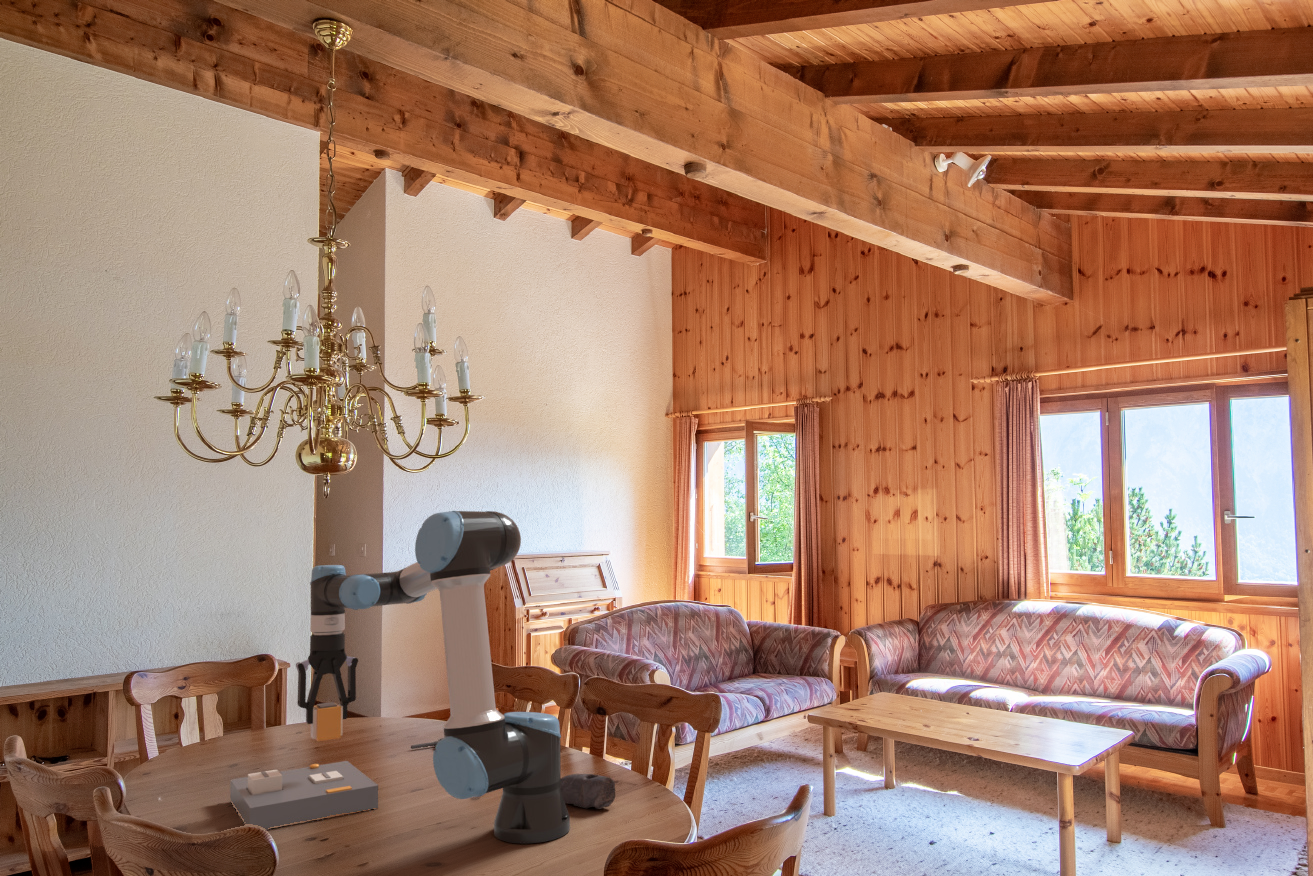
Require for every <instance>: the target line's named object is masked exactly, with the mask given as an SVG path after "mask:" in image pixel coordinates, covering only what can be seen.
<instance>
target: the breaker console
mask: <svg viewBox="0 0 1313 876" xmlns="http://www.w3.org/2000/svg"><path fill="white" fill-rule="evenodd" d="M332 771H337V772H339V773H340V774H341V775H342V776H343V780H337V781H331V782H325V783H320V784H313V783H312V782H311V781H310V780H309V775H314V774H320V773H324V772H332ZM279 772H280V774H281V775H282V790H279V791H273V792H267V793H261V794H255V795H251V794H250V793H249V792H248V776H245V777H238V778H233V779H230V784H229V785H230V786H229V787H230V791H229V793H230V794H229V796H230V798H229V800H230V799H231V801H232V802H233V804H234V805H235V807H236V808H237V810H238V811H239V813H240V814H241V816H242V818H243V819H244V822H246V823H245V824H253V825H258V826H261V827H263V828H265V829H267V830H266V831H269V829H268V828H270V827H274V826H280V825H284V824H290V823H294V822H300V821H307V820H312V819H317V818H322V817H327V816H330V815H336V814H342V813H350V812H357V811H363V810H368V809H373V808H378V809H379V785H378V784H377V783H376V782H374V781H373V780H372V779H371V778H369V777H368V776H367V775H366V774H365V773H363V772H362V771H361V770H359V769H358V768H357V767H356V766H354V765H353V764H352V763H351V762H350V761H348V760H343V761H338V762H337V761H335V762H332V763H326V764H319V763H313V764H310V765H309V766H307V767H301V768H293V769H288V770H282V771H279Z"/></svg>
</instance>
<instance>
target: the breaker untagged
mask: <svg viewBox="0 0 1313 876" xmlns="http://www.w3.org/2000/svg"><path fill="white" fill-rule="evenodd" d="M247 777H248V792H249V793H250V794H251V795H255V794H261V793H267V792H273V791H279V790H282V775H281V774H280V771H279V770H278V769H273V770H271V769H270V770H266V771H264V770H263V771H260V772H259V771H257V772H252V773H247Z"/></svg>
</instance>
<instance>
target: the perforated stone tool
mask: <svg viewBox="0 0 1313 876" xmlns="http://www.w3.org/2000/svg"><path fill="white" fill-rule="evenodd" d="M561 792H562V795H563V798H564V801H565V804H569V805H570V804H571V805H574V806H575V807H577V806H578V807H579V808H583V809H589V808H595V809H596V810H602V809H604V808H607V807H610V806H611V805H612V803H614V802H615V799H616V782H615V780H613V778H611V777H610V776H605V775H600V774H599V775H598V774H593V773H572V774H568V775H565V776H562V777H561Z"/></svg>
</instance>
